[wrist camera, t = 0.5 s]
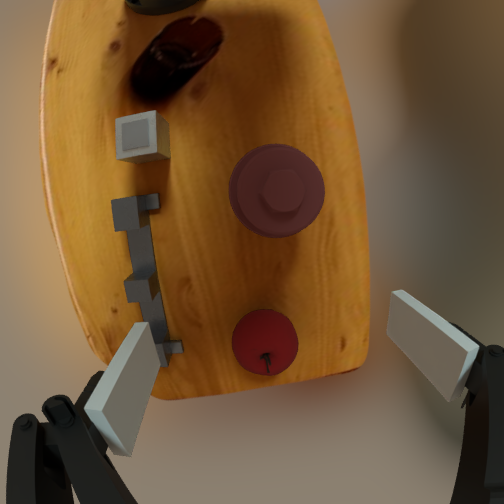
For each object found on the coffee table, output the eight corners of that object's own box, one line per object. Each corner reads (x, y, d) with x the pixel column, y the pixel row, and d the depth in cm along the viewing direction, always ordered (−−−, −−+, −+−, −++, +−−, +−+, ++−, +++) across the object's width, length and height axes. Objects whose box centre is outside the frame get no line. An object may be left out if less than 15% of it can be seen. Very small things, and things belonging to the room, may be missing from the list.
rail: (113, 200, 35) (99, 202, 31) (159, 193, 35) (149, 194, 31) (142, 350, 40) (135, 366, 36) (183, 350, 41) (179, 366, 36)
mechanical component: (317, 200, 37) (257, 241, 38) (276, 139, 35) (214, 181, 35) (355, 207, 25) (269, 267, 26) (297, 117, 23) (205, 177, 23)
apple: (304, 324, 41) (322, 360, 31) (263, 362, 42) (271, 403, 32) (260, 288, 39) (269, 319, 30) (219, 330, 40) (216, 369, 31)
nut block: (134, 129, 33) (114, 118, 26) (169, 123, 33) (154, 109, 26) (136, 163, 34) (115, 159, 27) (170, 158, 34) (156, 151, 27)
